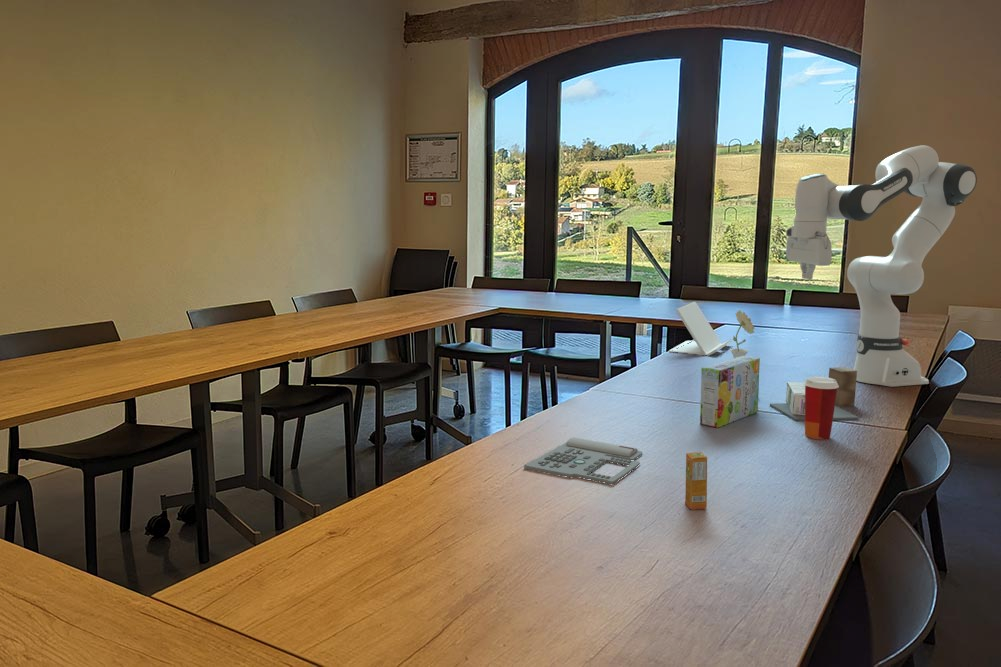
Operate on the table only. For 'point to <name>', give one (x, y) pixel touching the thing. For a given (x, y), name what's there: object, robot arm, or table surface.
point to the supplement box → (696, 480)
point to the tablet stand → (698, 332)
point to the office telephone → (585, 459)
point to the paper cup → (819, 406)
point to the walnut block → (844, 385)
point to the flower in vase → (747, 327)
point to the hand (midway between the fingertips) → (807, 278)
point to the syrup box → (796, 398)
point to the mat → (783, 407)
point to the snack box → (729, 390)
